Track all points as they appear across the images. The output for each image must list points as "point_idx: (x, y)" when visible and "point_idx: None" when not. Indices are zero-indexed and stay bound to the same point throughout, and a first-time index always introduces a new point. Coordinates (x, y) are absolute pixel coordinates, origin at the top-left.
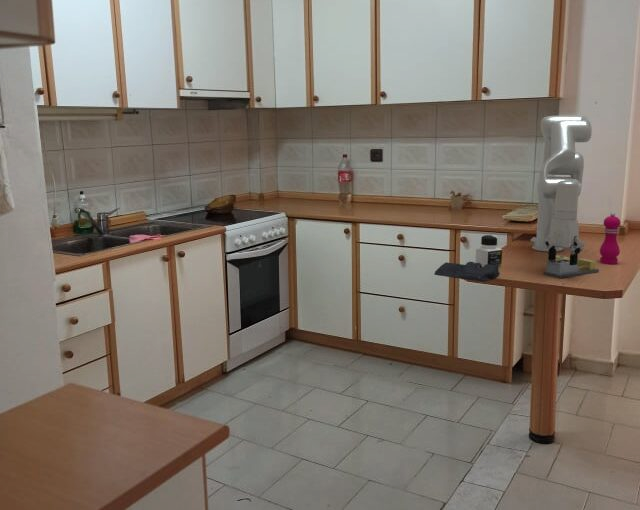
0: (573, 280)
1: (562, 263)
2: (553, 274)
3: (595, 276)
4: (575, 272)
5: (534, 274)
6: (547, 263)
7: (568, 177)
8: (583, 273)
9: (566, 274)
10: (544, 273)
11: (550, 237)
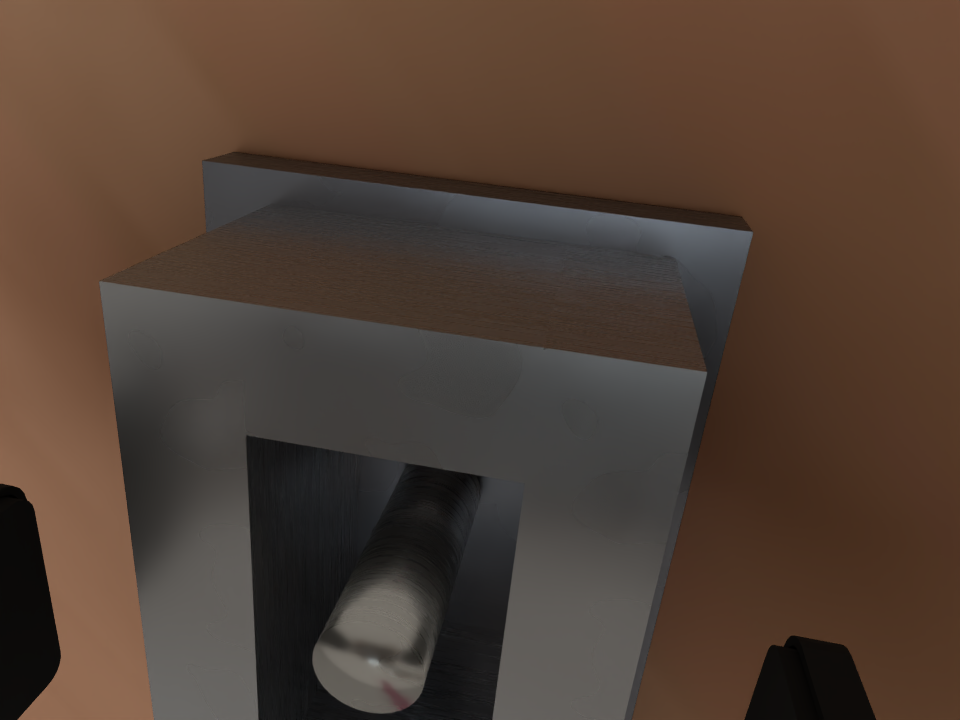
0: (28, 234)
1: (147, 427)
2: (414, 184)
3: (107, 700)
4: None
5: (899, 7)
6: (666, 335)
7: None
8: None
9: None
10: (701, 217)
11: None
